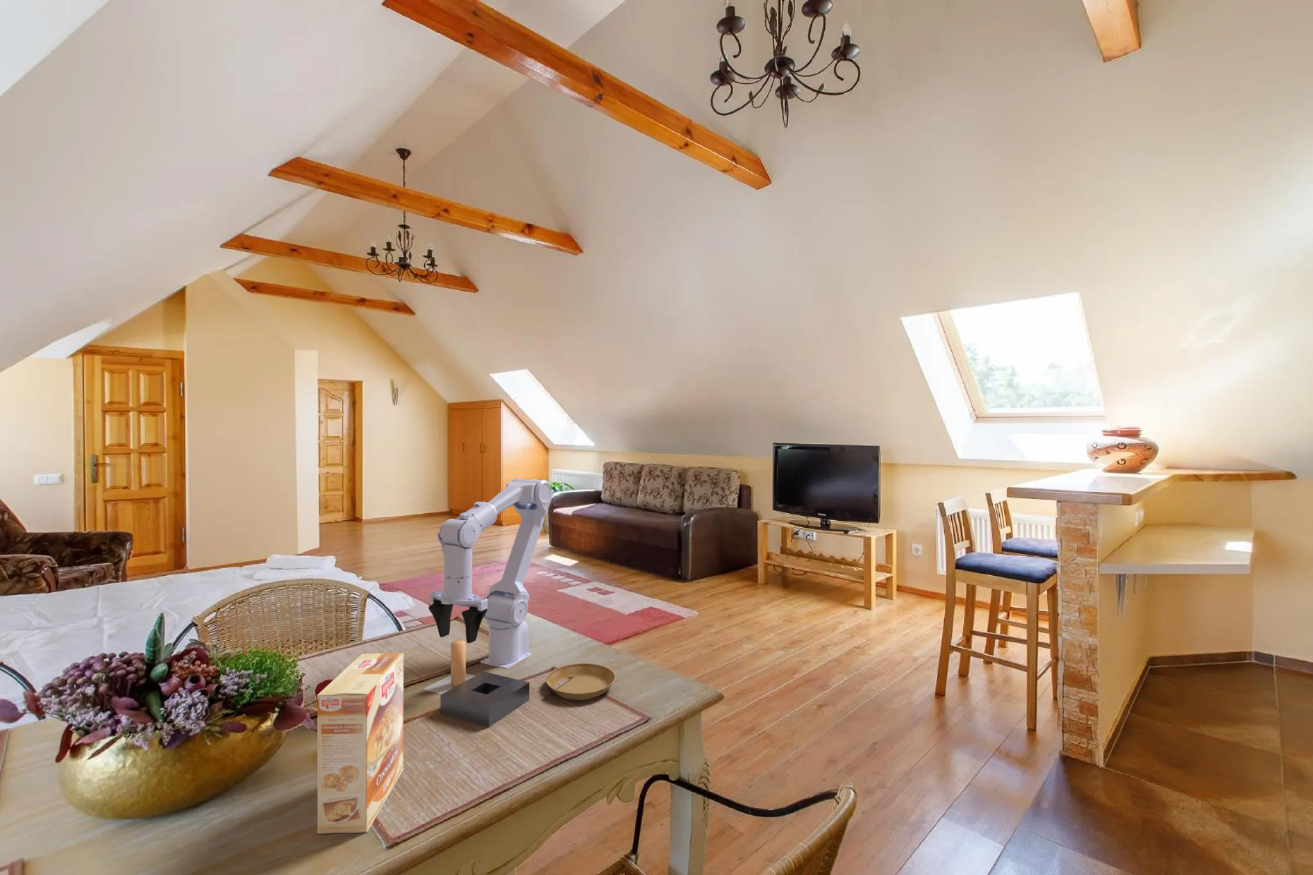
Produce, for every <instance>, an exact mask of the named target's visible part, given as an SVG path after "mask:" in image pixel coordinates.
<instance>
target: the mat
mask: <svg viewBox="0 0 1313 875" xmlns="http://www.w3.org/2000/svg"><path fill="white" fill-rule="evenodd" d="M474 676H476V675H475V674H471V673H467V672H466V681H467V680H468V679H470V678H472V677H474ZM452 688H454V687H452V686H451V674H449V675H448V676H446V677H444V678H442V679H440V680H438V681H436V682H434V683H432V684H430V685H427V687H424V688H423V689H422V690H423V691H428V692H431V693H436V694H439V695H441V694H443V693H445V692H446V691H448V690H450V689H452Z"/></svg>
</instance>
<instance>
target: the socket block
mask: <svg viewBox="0 0 1313 875" xmlns="http://www.w3.org/2000/svg"><path fill="white" fill-rule="evenodd" d="M439 695H440V697H439V698H440V704H439V705H440V709H439V710H440V714H442V715H445V716H448V717H453V718H456V719H459V720H463V721H465V722H469V723H472V724H474V725H475V724H476V725H478V726H482V727H486V728H491V727H492V726H493V725H495V724H496V723H498V722H499V721H501V720H503V719H504V718H505V717H507V716H508V715H510V714H511V713H513V712H515V710H517V709H519V708H520V707H522V706H523V705H524V704H526V703H528V702H530V682H529V681H525V680H522V679H518V678H513V677H509V676H505V675H500V674H496V673H492V672H489V671H484V670H483V671H481V672H479V673H478V674H476V675H475V676H474V677H472V678H470V679H468V680H467V681H465V682H463V683H461V684H459V685H457V686H456V687H454V688H452V689H450V690H448V691H446V692H445V693H443V694H439Z"/></svg>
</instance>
